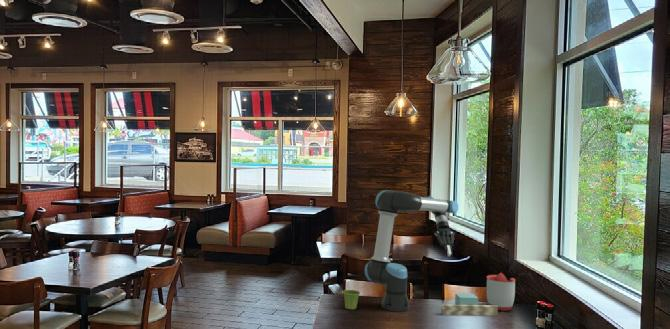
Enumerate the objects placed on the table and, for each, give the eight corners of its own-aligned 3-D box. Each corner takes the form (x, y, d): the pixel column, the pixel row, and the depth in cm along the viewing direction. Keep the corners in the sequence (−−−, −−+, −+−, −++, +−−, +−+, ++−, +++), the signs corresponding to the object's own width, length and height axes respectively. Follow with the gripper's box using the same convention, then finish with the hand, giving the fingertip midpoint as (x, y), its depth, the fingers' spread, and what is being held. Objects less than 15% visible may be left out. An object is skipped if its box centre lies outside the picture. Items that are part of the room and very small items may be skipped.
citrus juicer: (521, 308, 255) (522, 273, 255) (505, 314, 244) (506, 277, 244) (496, 301, 267) (497, 268, 267) (480, 306, 256) (481, 271, 256)
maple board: (442, 315, 239) (442, 305, 239) (441, 313, 241) (441, 304, 241) (497, 315, 241) (497, 306, 241) (496, 314, 243) (496, 305, 243)
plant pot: (352, 304, 252) (353, 289, 253) (362, 309, 244) (363, 293, 245) (339, 306, 247) (339, 291, 247) (348, 311, 239) (349, 295, 240)
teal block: (459, 314, 242) (460, 297, 242) (454, 309, 250) (455, 293, 250) (477, 314, 242) (478, 297, 242) (472, 309, 250) (473, 293, 250)
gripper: (451, 227, 291) (458, 258, 274) (431, 227, 291) (437, 258, 274) (453, 220, 286) (461, 251, 269) (433, 220, 285) (440, 251, 268)
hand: (449, 255), depth 271 cm, fingers closed
